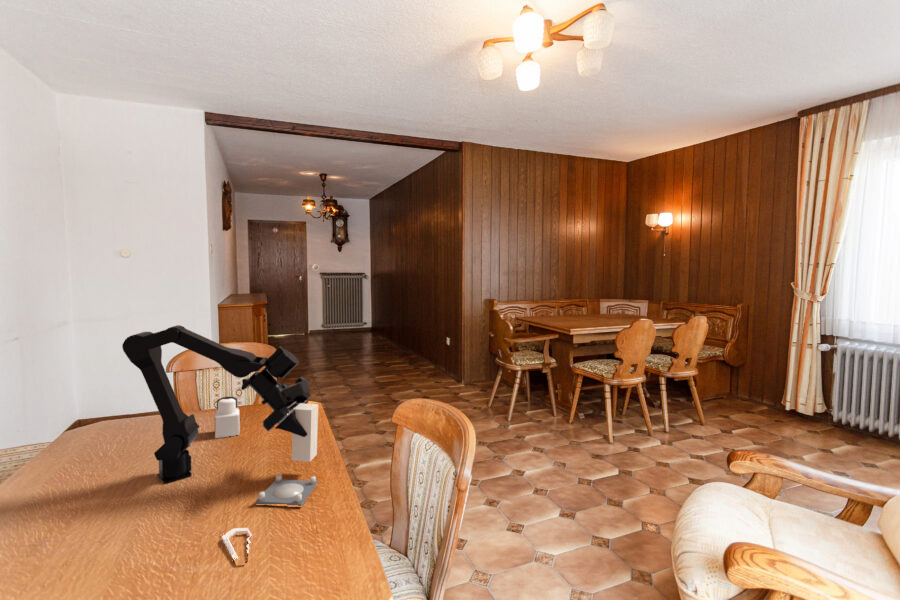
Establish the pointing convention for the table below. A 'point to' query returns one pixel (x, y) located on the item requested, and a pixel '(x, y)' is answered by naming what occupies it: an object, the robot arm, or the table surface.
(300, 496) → the locating plate
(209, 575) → the table surface
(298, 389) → the robot arm
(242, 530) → the white bent piece
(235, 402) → the medicine bottle
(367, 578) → the table surface
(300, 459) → the block
